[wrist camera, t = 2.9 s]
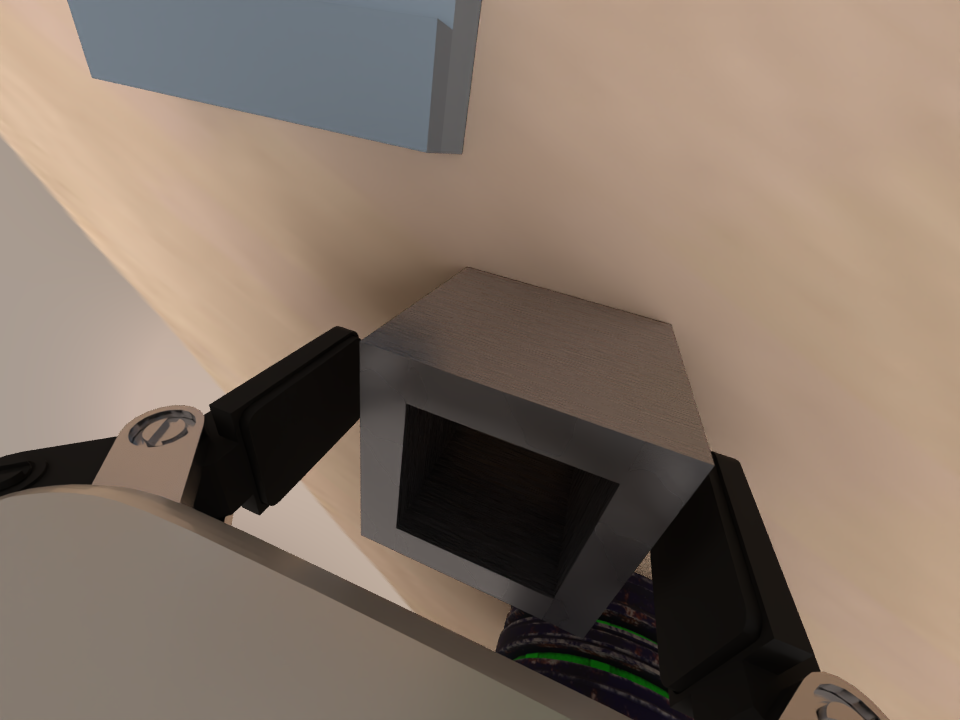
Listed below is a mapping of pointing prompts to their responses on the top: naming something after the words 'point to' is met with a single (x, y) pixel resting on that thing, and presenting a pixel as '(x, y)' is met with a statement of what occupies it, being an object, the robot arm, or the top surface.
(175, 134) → the top surface
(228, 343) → the top surface
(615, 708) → the dark blue barrel
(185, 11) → the shaft block
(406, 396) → the grey hollow block
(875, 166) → the top surface
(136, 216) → the top surface
